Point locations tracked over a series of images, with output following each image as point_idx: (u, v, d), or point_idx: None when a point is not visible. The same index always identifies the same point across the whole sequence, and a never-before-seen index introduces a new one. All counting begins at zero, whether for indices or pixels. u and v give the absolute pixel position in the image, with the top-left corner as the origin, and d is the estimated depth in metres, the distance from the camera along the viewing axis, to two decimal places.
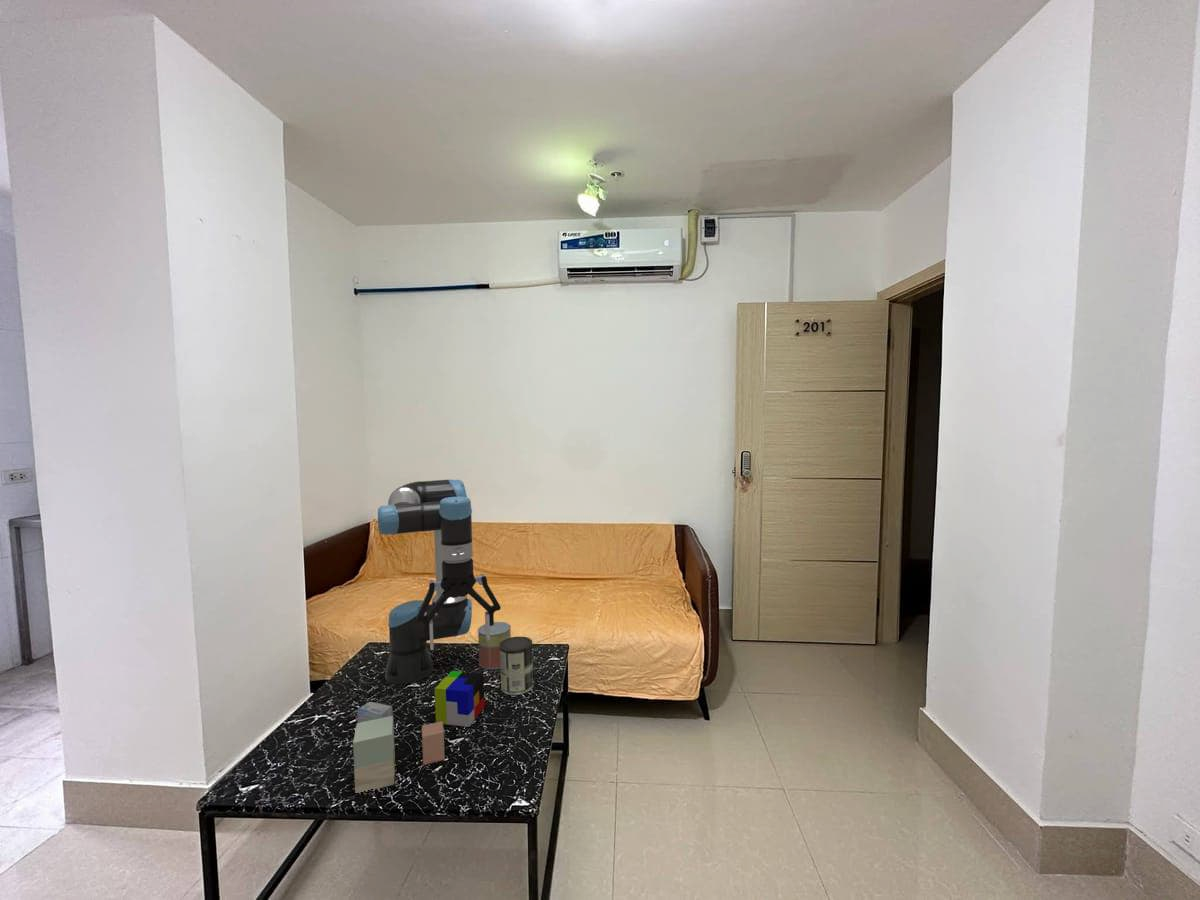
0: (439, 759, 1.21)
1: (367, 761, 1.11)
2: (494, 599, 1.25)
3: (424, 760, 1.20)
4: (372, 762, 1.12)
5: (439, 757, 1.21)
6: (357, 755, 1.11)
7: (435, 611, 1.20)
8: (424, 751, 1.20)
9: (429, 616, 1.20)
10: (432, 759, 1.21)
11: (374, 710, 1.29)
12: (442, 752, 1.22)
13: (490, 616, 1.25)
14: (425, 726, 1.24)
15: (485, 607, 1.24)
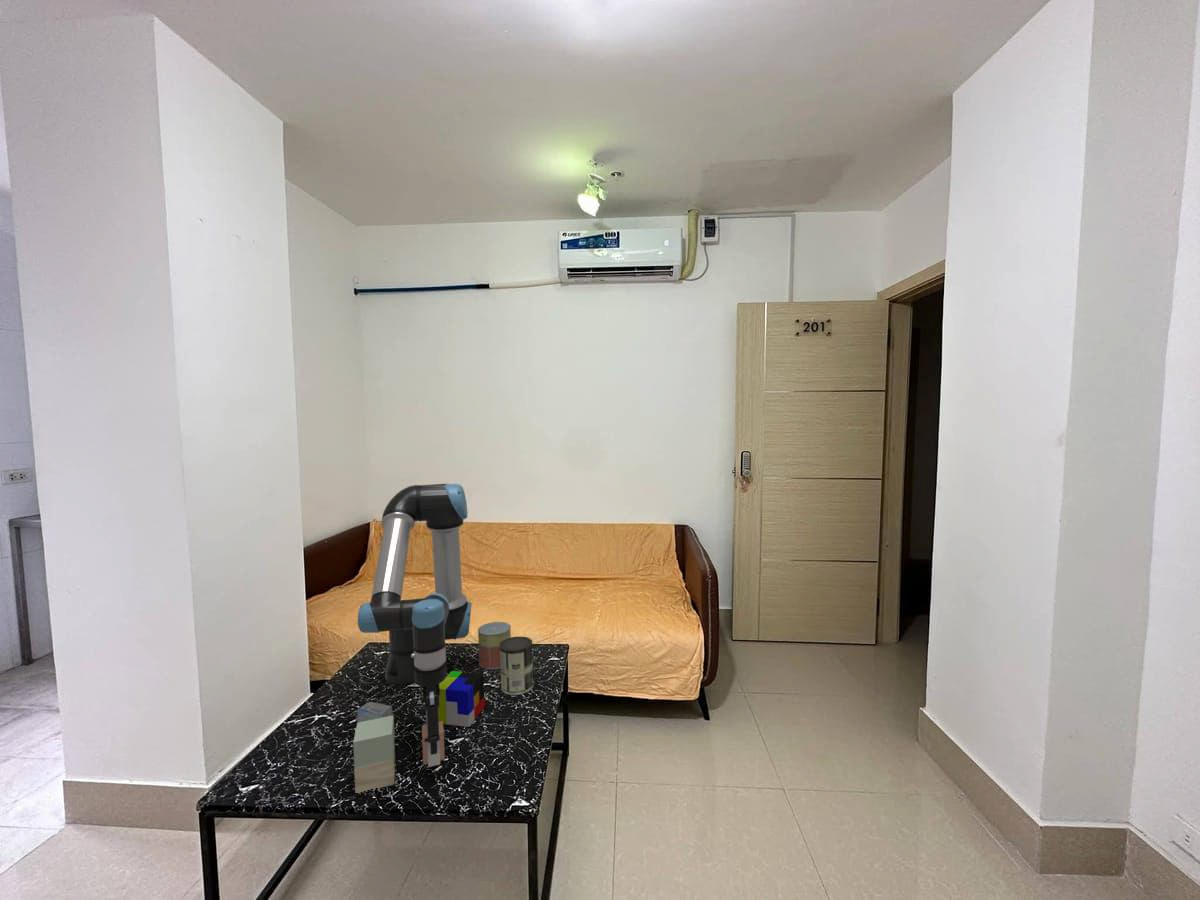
0: None
1: (367, 761, 1.12)
2: None
3: (424, 760, 1.20)
4: (372, 762, 1.12)
5: None
6: (358, 755, 1.11)
7: None
8: (424, 751, 1.20)
9: None
10: None
11: (374, 710, 1.29)
12: (442, 752, 1.22)
13: (430, 743, 1.15)
14: (425, 726, 1.24)
15: None
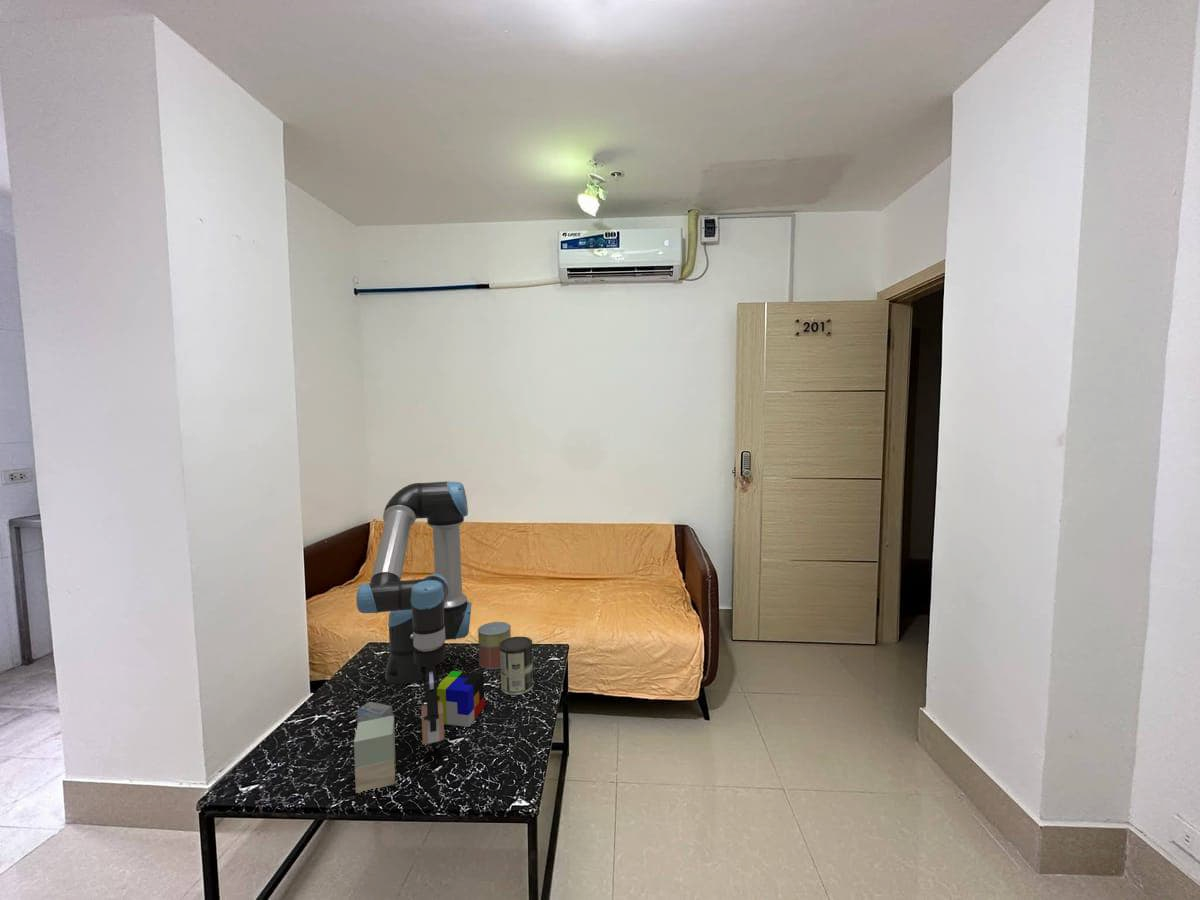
0: None
1: (368, 760, 1.12)
2: (427, 708, 1.17)
3: (423, 740, 1.20)
4: (373, 761, 1.12)
5: None
6: (358, 755, 1.11)
7: None
8: (423, 731, 1.20)
9: None
10: None
11: (374, 710, 1.29)
12: (441, 732, 1.22)
13: (429, 721, 1.20)
14: (424, 706, 1.24)
15: None
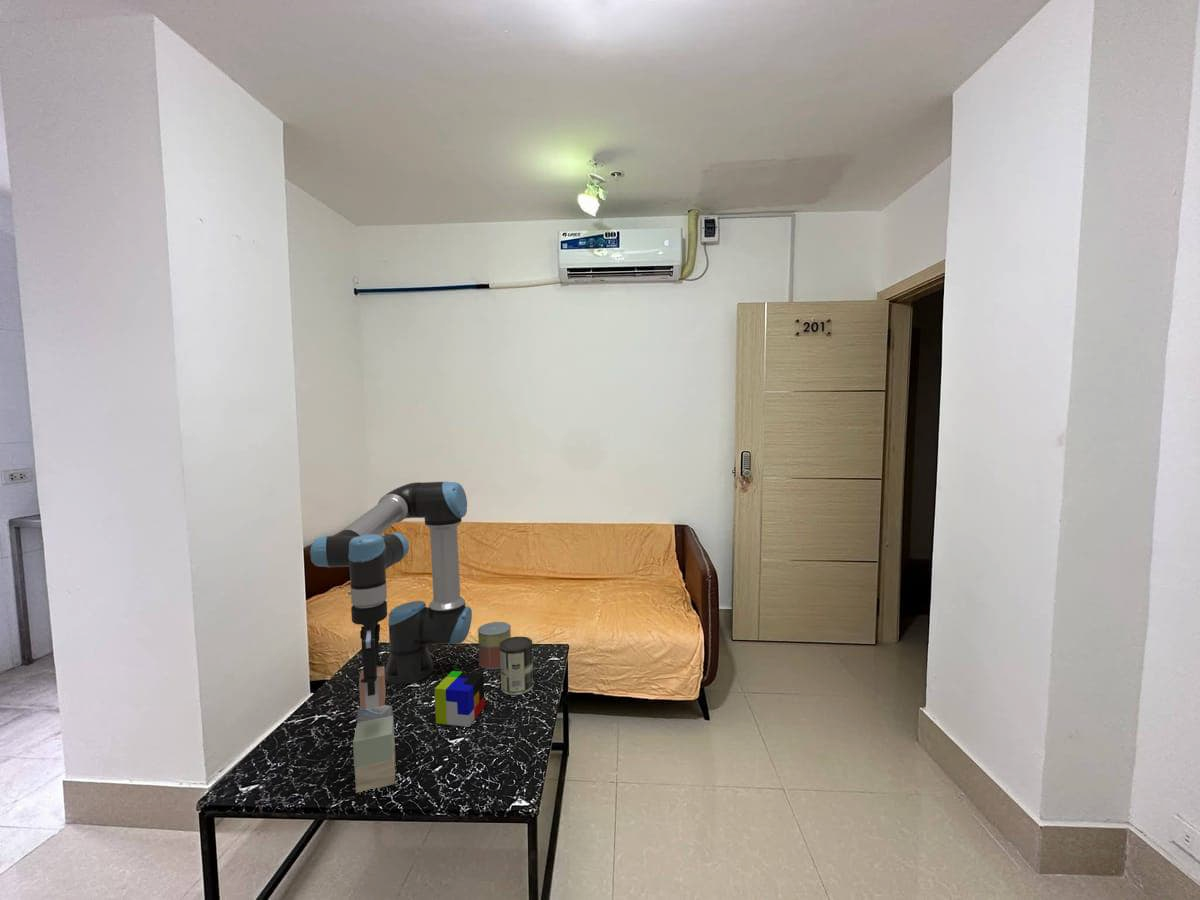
0: None
1: (367, 761, 1.12)
2: (363, 669, 1.09)
3: (361, 705, 1.12)
4: (372, 762, 1.12)
5: None
6: (357, 755, 1.11)
7: None
8: (361, 695, 1.12)
9: None
10: None
11: (374, 710, 1.29)
12: (381, 697, 1.13)
13: None
14: None
15: None
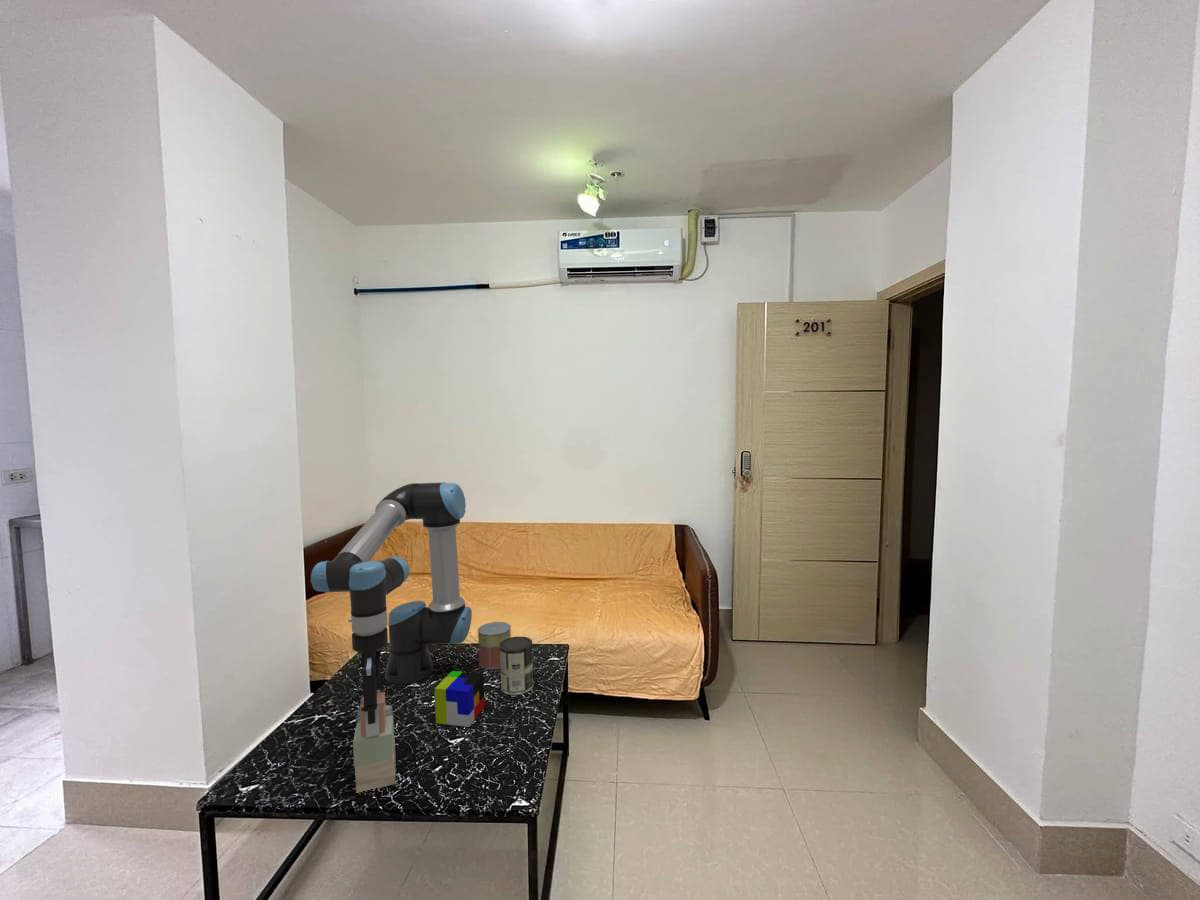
0: (379, 731, 1.14)
1: (367, 760, 1.12)
2: None
3: (362, 732, 1.12)
4: (372, 761, 1.12)
5: (379, 729, 1.13)
6: (357, 755, 1.11)
7: None
8: (362, 722, 1.12)
9: None
10: None
11: None
12: (382, 724, 1.14)
13: (367, 712, 1.11)
14: None
15: None
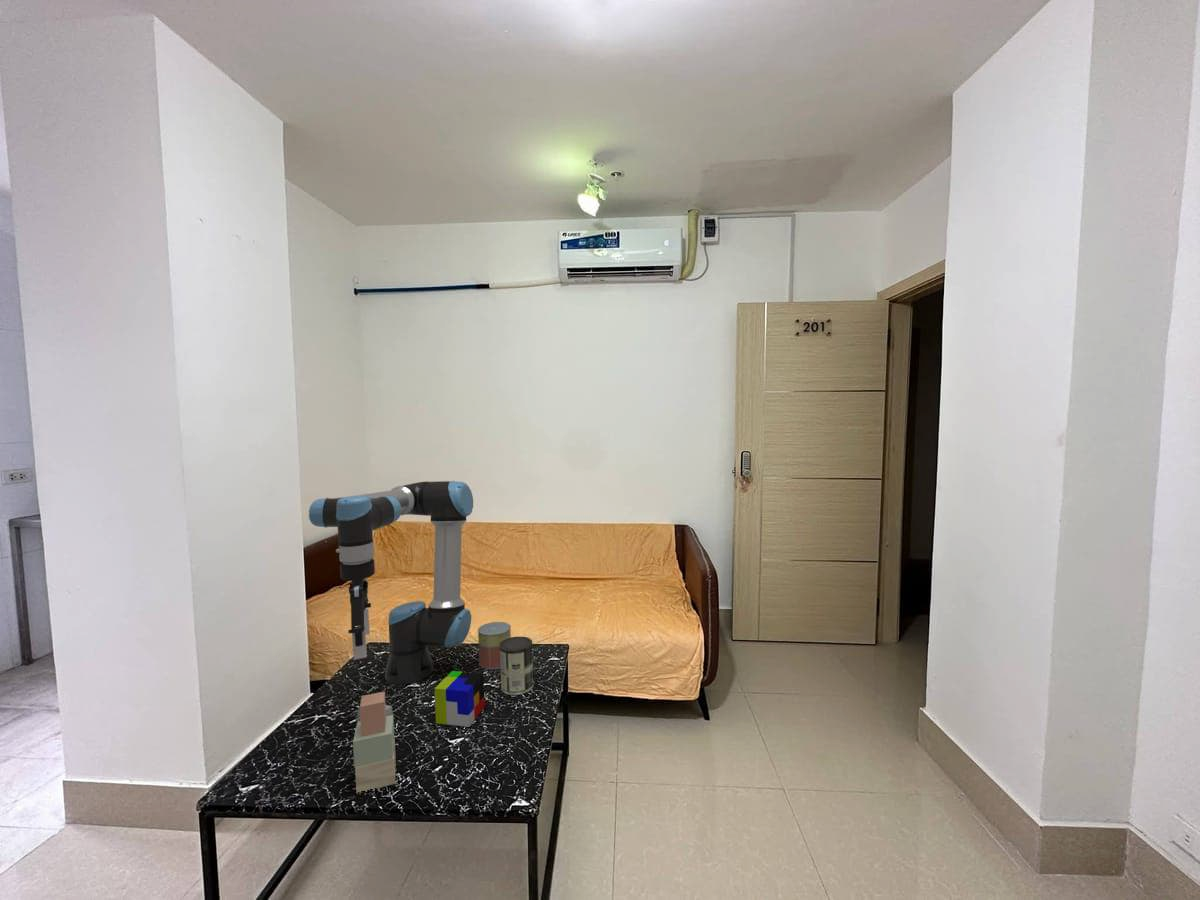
0: (379, 731, 1.14)
1: (367, 760, 1.12)
2: (351, 618, 1.11)
3: (362, 731, 1.12)
4: (372, 761, 1.12)
5: (379, 729, 1.14)
6: (357, 754, 1.11)
7: None
8: (362, 722, 1.12)
9: None
10: (371, 730, 1.13)
11: None
12: (382, 723, 1.14)
13: (355, 635, 1.13)
14: (365, 696, 1.16)
15: None
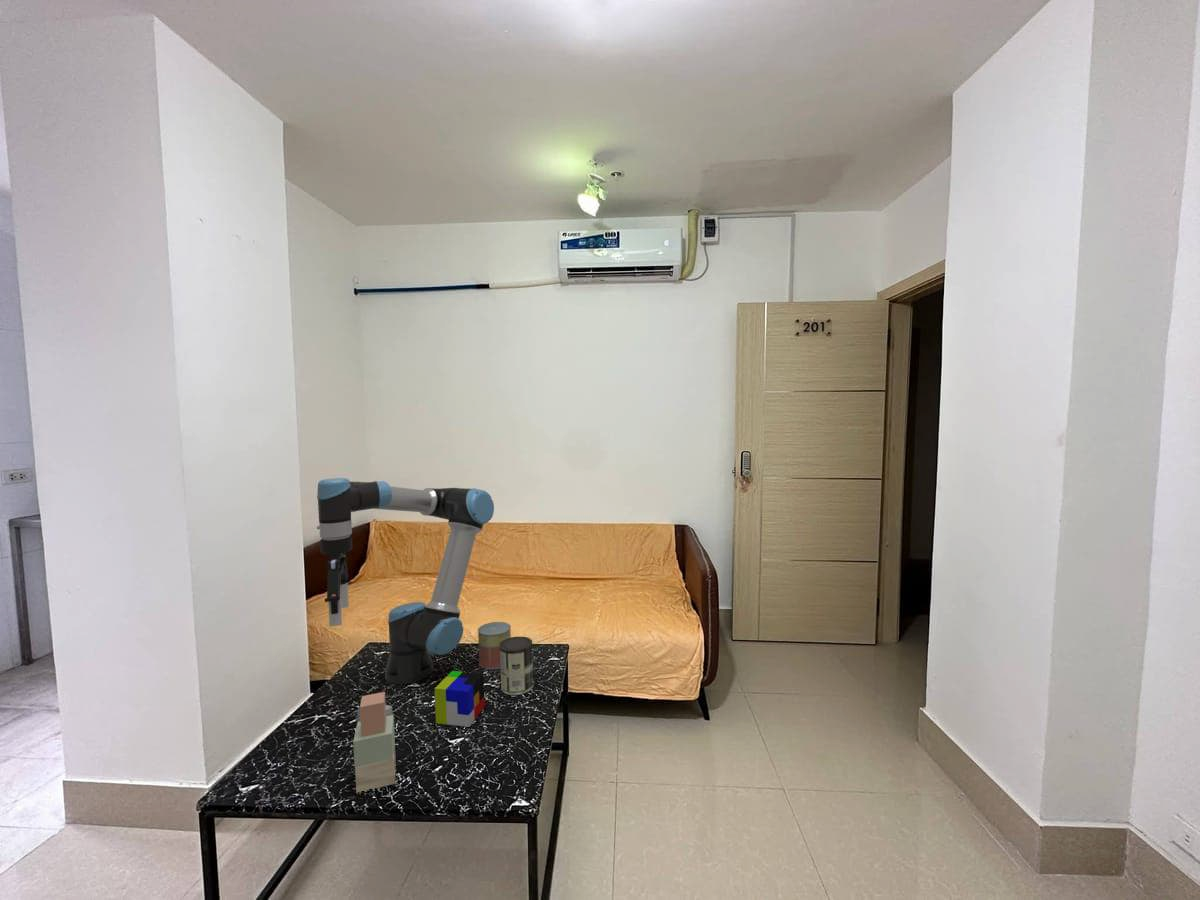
0: (379, 731, 1.14)
1: (367, 760, 1.12)
2: None
3: (362, 732, 1.12)
4: (372, 761, 1.12)
5: (379, 729, 1.14)
6: (358, 754, 1.11)
7: None
8: (362, 722, 1.12)
9: None
10: (371, 731, 1.13)
11: None
12: (382, 724, 1.14)
13: (331, 604, 1.23)
14: (365, 696, 1.16)
15: None
